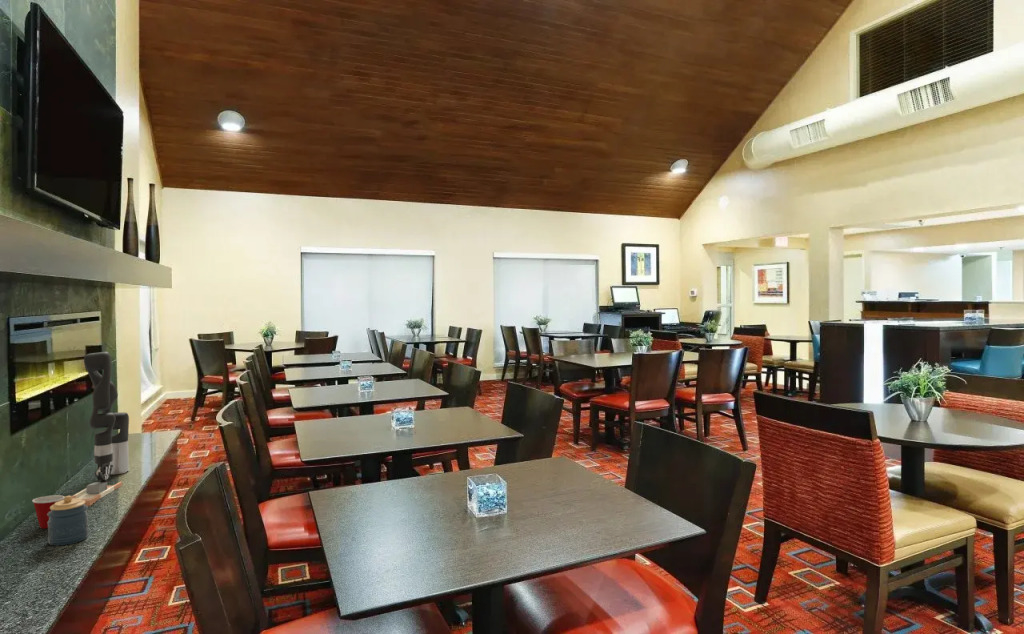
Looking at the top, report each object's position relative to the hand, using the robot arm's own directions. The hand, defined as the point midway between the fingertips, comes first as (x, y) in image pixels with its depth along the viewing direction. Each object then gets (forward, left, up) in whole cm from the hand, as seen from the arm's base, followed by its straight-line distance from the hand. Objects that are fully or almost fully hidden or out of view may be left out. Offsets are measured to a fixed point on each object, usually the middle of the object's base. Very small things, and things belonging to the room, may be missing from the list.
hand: (104, 486), depth 293 cm
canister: (+65, +20, -2) cm, 68 cm away
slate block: (+6, -1, -1) cm, 6 cm away
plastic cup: (+48, +3, -2) cm, 48 cm away
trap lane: (+9, 0, -2) cm, 9 cm away
